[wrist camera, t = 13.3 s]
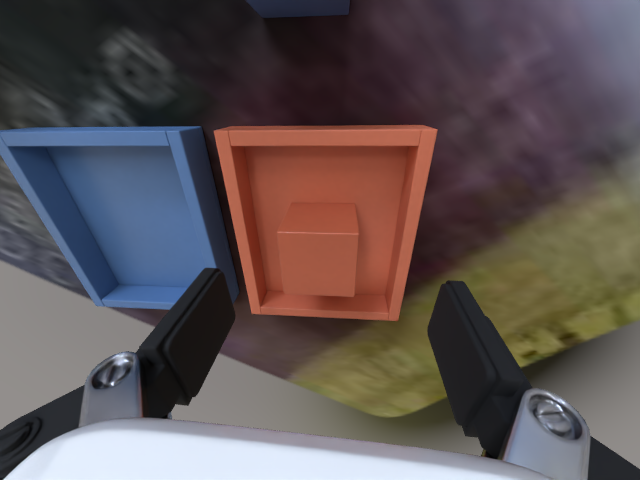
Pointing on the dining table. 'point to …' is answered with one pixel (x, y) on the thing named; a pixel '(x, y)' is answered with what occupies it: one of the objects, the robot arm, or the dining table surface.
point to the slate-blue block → (299, 7)
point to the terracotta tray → (327, 187)
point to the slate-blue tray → (125, 207)
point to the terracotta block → (319, 249)
